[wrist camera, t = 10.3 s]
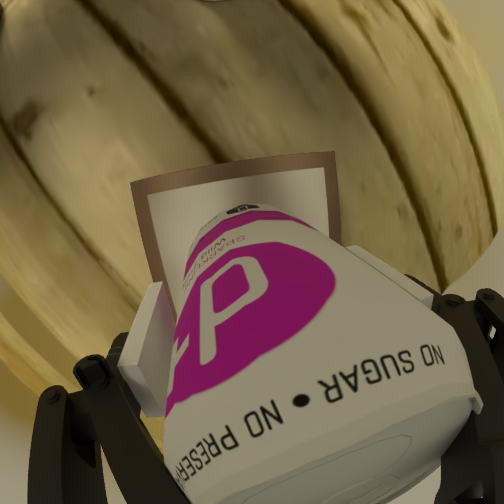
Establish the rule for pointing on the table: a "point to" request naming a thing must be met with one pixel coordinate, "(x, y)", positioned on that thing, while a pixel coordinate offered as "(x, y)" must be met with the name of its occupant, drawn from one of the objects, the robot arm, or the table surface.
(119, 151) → the table surface
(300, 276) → the supplement can
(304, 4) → the table surface
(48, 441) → the robot arm
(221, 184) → the base
